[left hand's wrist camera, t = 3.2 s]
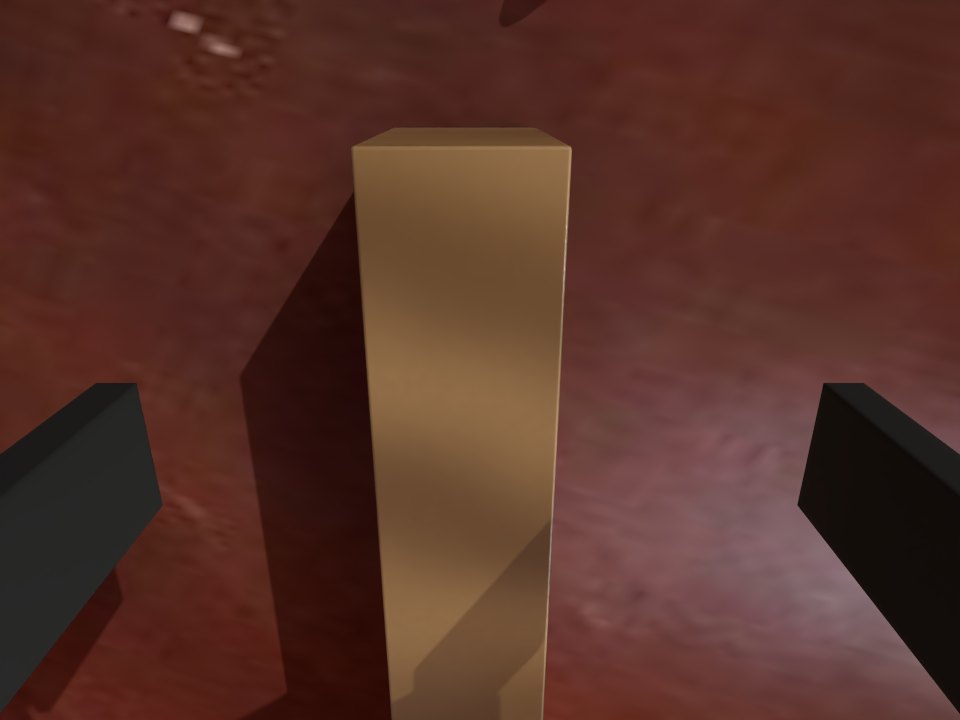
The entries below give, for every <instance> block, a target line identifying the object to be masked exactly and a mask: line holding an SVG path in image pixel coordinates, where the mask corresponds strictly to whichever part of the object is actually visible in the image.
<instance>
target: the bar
mask: <svg viewBox="0 0 960 720" xmlns="http://www.w3.org/2000/svg"><path fill="white" fill-rule="evenodd" d="M571 156H572V149H571V147H570V146H568V145H566V144H565V143H563V142H561V141H559V140H557V139H555V138H553V137H551V136H550V135H548V134H546V133H544V132H542V131H540V130H538V129H537V128H392V129H390V130H388V131H386V132H384V133H381V134H379V135H377V136H375V137H373V138H370V139H368V140H366V141H364V142H362V143H359V144H357V145H355V146H353V147H352V148H351V161H352V175H353V189H354V203H355V217H356V231H357V245H358V259H359V273H360V287H361V301H362V315H363V329H364V343H365V357H366V371H367V385H368V399H369V413H370V427H371V441H372V455H373V469H374V483H375V497H376V511H377V525H378V539H379V553H380V567H381V581H382V595H383V609H384V623H385V637H386V651H387V665H388V679H389V693H390V707H391V720H543V706H544V686H545V667H546V647H547V627H548V608H549V588H550V568H551V549H552V529H553V510H554V490H555V470H556V451H557V431H558V411H559V392H560V372H561V352H562V333H563V313H564V293H565V274H566V254H567V234H568V215H569V195H570V175H571Z"/></svg>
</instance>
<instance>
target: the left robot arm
mask: <svg viewBox="0 0 960 720" xmlns="http://www.w3.org/2000/svg"><path fill="white" fill-rule="evenodd" d="M161 506H162V500H161V496H160V491H159V486H158V482H157V477H156V472H155V468H154V463H153V458H152V454H151V449H150V444H149V440H148V435H147V430H146V426H145V421H144V417H143V412H142V407H141V403H140V398H139V393H138V389H137V384H136V383H96V384H94V385H93V386H92V387H90V388H89V389H88V390H86V391H85V392H84V393H82V394H81V395H80V396H78V397H77V398H76V399H74V400H73V401H72V402H70V403H69V404H68V405H66V406H65V407H64V408H62V409H61V410H59V411H58V412H57V413H55V414H54V415H53V416H51V417H50V418H49V419H47V420H46V421H45V422H43V423H42V424H41V425H39V426H38V427H37V428H35V429H34V430H33V431H31V432H30V433H29V434H27V435H26V436H25V437H23V438H22V439H21V440H19V441H18V442H17V443H15V444H14V445H13V446H11V447H10V448H8V449H7V450H6V451H4V452H3V453H2V454H0V713H1V712H2V711H3V709H4V708H5V707H6V706H7V704H8V703H9V702H10V700H11V699H12V698H13V697H14V695H15V694H16V693H17V691H18V690H19V689H20V688H21V686H22V685H23V684H24V682H25V681H26V680H27V679H28V677H29V676H30V675H31V673H32V672H33V671H34V670H35V668H36V667H37V666H38V664H39V663H40V662H41V661H42V659H43V658H44V657H45V655H46V654H47V653H48V652H49V650H50V649H51V648H52V646H53V645H54V644H55V643H56V641H57V640H58V639H59V637H60V636H61V635H62V634H63V632H64V631H65V630H66V628H67V627H68V626H69V625H70V623H71V622H72V621H73V619H74V618H75V617H76V616H77V614H78V613H79V612H80V611H81V609H82V608H83V607H84V605H85V604H86V603H87V602H88V600H89V599H90V598H91V596H92V595H93V594H94V593H95V591H96V590H97V589H98V587H99V586H100V585H101V584H102V582H103V581H104V580H105V578H106V577H107V576H108V575H109V573H110V572H111V571H112V569H113V568H114V567H115V566H116V564H117V563H118V562H119V560H120V559H121V558H122V557H123V555H124V554H125V553H126V551H127V550H128V549H129V548H130V546H131V545H132V544H133V542H134V541H135V540H136V539H137V537H138V536H139V535H140V533H141V532H142V531H143V530H144V528H145V527H146V526H147V524H148V523H149V522H150V521H151V519H152V518H153V517H154V515H155V514H156V513H157V512H158V510H159V509H160V508H161ZM798 506H799V508H800V509H801V510H802V512H803V513H804V514H805V515H806V517H807V518H808V519H809V521H810V522H811V523H812V524H813V526H814V527H815V528H816V530H817V531H818V532H819V533H820V535H821V536H822V537H823V539H824V540H825V541H826V542H827V544H828V545H829V546H830V548H831V549H832V550H833V551H834V553H835V554H836V555H837V557H838V558H839V559H840V560H841V562H842V563H843V564H844V566H845V567H846V568H847V569H848V571H849V572H850V573H851V575H852V576H853V577H854V578H855V580H856V581H857V582H858V584H859V585H860V586H861V587H862V589H863V590H864V591H865V593H866V594H867V595H868V596H869V598H870V599H871V600H872V602H873V603H874V604H875V605H876V607H877V608H878V609H879V611H880V612H881V613H882V614H883V616H884V617H885V618H886V619H887V621H888V622H889V623H890V625H891V626H892V627H893V628H894V630H895V631H896V632H897V634H898V635H899V636H900V637H901V639H902V640H903V641H904V643H905V644H906V645H907V646H908V648H909V649H910V650H911V652H912V653H913V654H914V655H915V657H916V658H917V659H918V661H919V662H920V663H921V664H922V666H923V667H924V668H925V670H926V671H927V672H928V673H929V675H930V676H931V677H932V679H933V680H934V681H935V682H936V684H937V685H938V686H939V688H940V689H941V690H942V691H943V693H944V694H945V695H946V697H947V698H948V699H949V700H950V702H951V703H952V704H953V706H954V707H955V708H956V709H957V711H958V712H959V713H960V454H958V453H957V452H956V451H954V450H953V449H952V448H950V447H949V446H947V445H946V444H945V443H943V442H942V441H941V440H939V439H938V438H937V437H935V436H934V435H933V434H931V433H930V432H929V431H927V430H926V429H925V428H923V427H922V426H921V425H919V424H918V423H917V422H915V421H914V420H913V419H911V418H910V417H909V416H907V415H906V414H905V413H903V412H902V411H901V410H899V409H898V408H896V407H895V406H894V405H892V404H891V403H890V402H888V401H887V400H886V399H884V398H883V397H882V396H880V395H879V394H878V393H876V392H875V391H874V390H872V389H871V388H870V387H868V386H867V385H866V384H864V383H824V384H823V389H822V393H821V398H820V403H819V407H818V412H817V417H816V421H815V426H814V430H813V435H812V440H811V444H810V449H809V454H808V458H807V463H806V468H805V472H804V477H803V482H802V486H801V491H800V496H799V500H798Z"/></svg>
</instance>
